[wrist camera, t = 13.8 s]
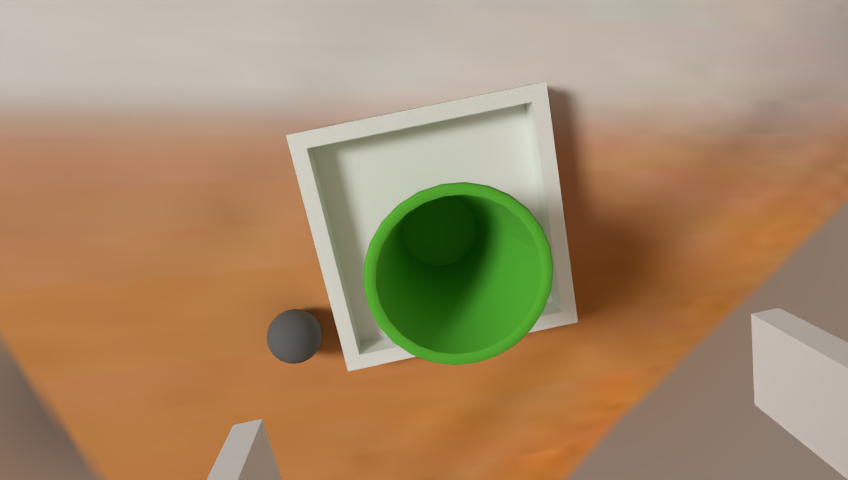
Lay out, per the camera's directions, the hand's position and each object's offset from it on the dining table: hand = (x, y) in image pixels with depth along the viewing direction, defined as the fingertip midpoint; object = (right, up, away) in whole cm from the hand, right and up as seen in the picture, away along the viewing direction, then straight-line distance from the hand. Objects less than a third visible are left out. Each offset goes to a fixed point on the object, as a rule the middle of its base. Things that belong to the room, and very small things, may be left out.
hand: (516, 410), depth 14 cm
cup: (-1, +5, +21) cm, 22 cm away
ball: (-11, -2, +23) cm, 26 cm away
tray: (-1, +5, +22) cm, 23 cm away
